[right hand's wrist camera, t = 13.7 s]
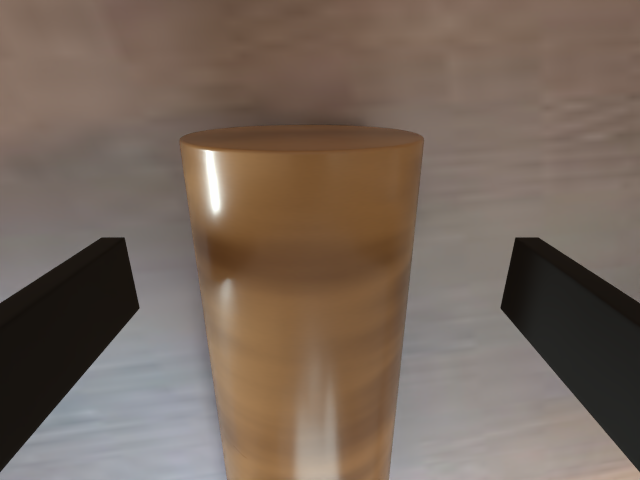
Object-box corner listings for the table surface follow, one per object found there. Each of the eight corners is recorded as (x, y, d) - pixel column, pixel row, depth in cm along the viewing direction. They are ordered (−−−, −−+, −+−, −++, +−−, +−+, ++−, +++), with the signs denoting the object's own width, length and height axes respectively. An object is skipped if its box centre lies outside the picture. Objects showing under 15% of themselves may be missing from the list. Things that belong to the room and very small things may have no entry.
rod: (213, 124, 16) (131, 151, 9) (394, 124, 17) (465, 150, 9) (251, 478, 25) (225, 645, 18) (368, 475, 25) (393, 638, 18)
